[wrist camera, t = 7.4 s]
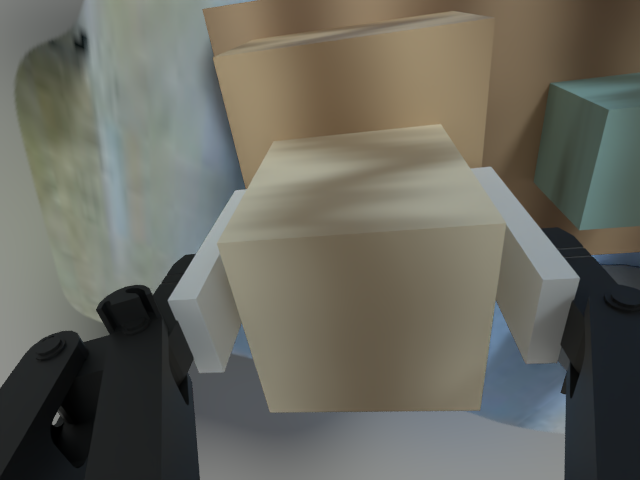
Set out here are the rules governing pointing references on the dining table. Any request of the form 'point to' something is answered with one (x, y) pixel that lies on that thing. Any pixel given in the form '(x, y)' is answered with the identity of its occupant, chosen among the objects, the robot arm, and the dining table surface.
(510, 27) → the base
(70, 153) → the dining table surface
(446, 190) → the oak block
